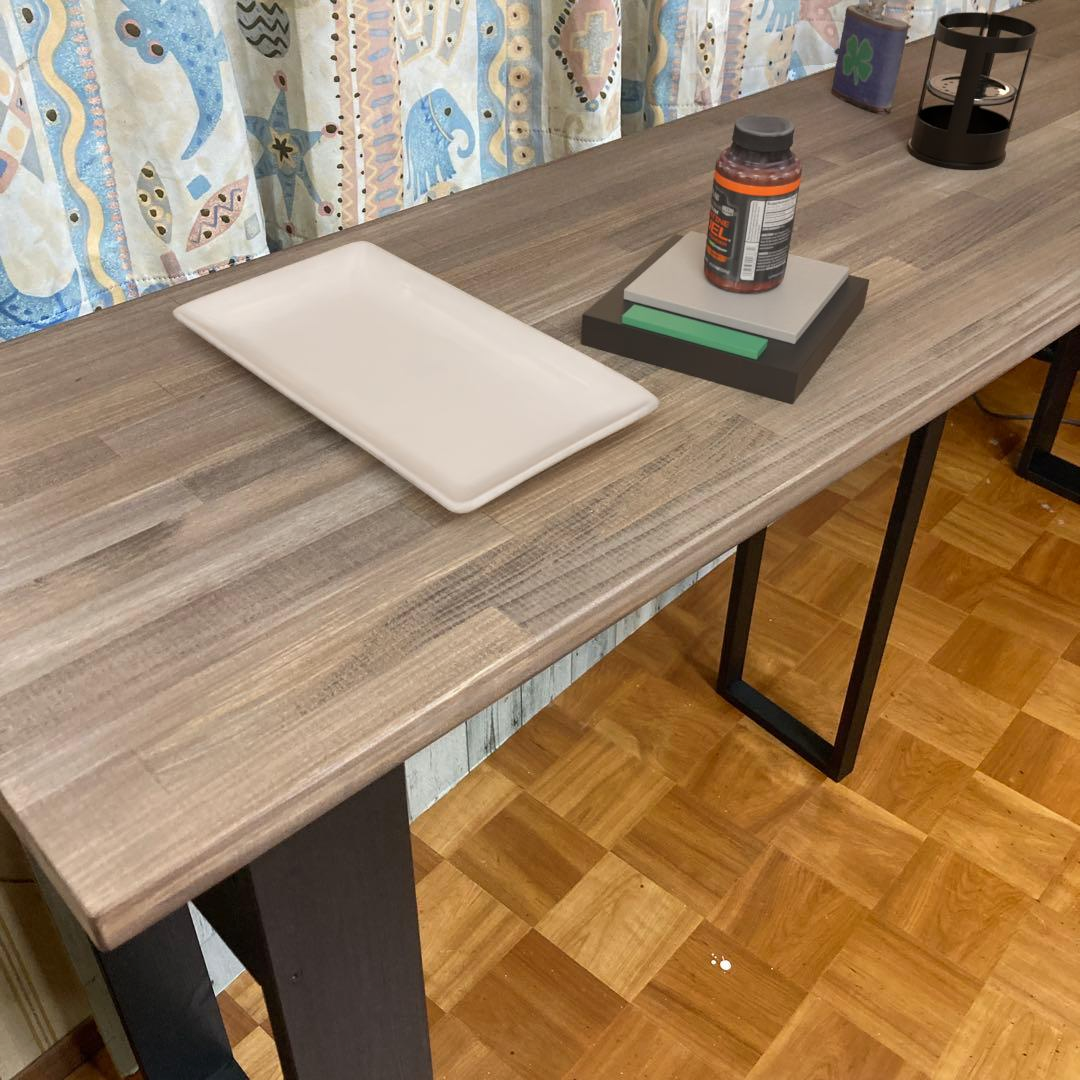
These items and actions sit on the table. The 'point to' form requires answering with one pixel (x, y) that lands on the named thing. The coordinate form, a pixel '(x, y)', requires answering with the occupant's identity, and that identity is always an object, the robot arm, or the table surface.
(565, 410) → the tray
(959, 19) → the french press
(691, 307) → the scale
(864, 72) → the flask
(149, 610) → the table surface
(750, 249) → the supplement bottle
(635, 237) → the table surface
